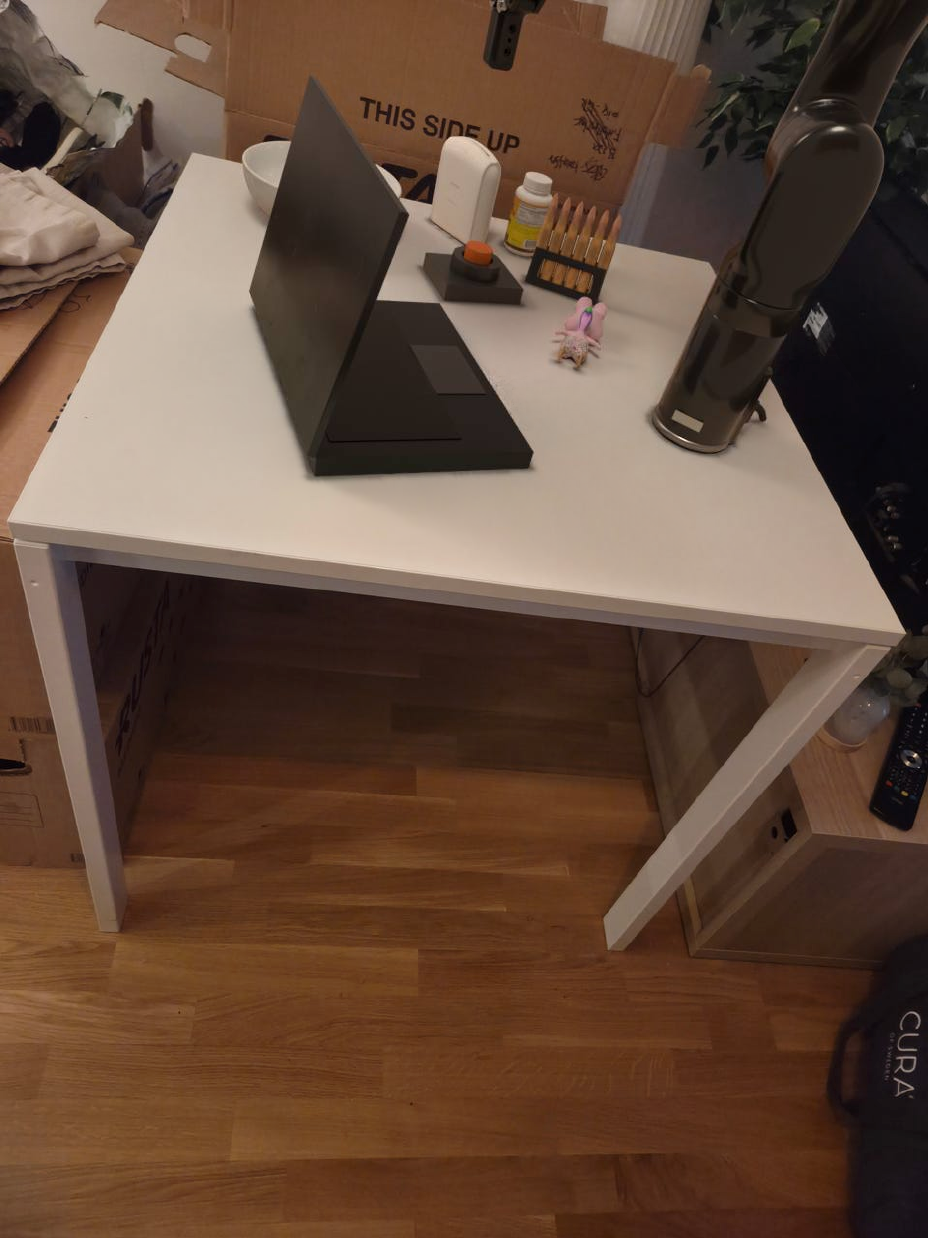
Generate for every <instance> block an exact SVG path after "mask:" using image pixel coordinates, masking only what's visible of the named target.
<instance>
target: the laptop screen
mask: <svg viewBox="0 0 928 1238" xmlns="http://www.w3.org/2000/svg"><path fill="white" fill-rule="evenodd" d="M290 141H291V144H290V147H289V151H288V154H287V158H286V161H285V165H284V168H283V172H282V176H281V179H280V183H279V186H278V190H277V193H276V197H275V200H274V204H273V208H272V211H271V215H269V218H268V222H267V226H266V230H265V232H264V236H263V240H262V243H261V247H260V251H259V254H258V258H257V261H256V264H255V268H254V272H253V275H252V279H251V282H250V285H249V288H248V289H249V290H248V293H249V295H250V298H251V301H252V304H253V307H254V309H255V313H256V316H257V318H258V321H259V324H260V327H261V330H262V333H263V336H264V339H265V341H266V344H267V346H268V349H269V353H270V355H271V358H272V361H273V364H274V367H275V369H276V370H275V371H276V373H277V375H278V378H279V381H280V384H281V387H282V389H283V392H284V395H285V398H286V401H287V404H288V407H289V409H290V412H291V415H292V418H293V421H294V423H295V427H296V430H297V432H298V435H299V438H300V441H301V443H302V446H303V449H304V452H305V455H306V457H307V458H308V457H313V458H315V456H316V454H317V451H318V449H319V446H320V444H321V441H322V438H323V436H324V433H325V431H326V428H327V426H328V423H329V421H330V418H331V415H332V413H333V410H334V408H335V405H336V403H337V400H338V397H339V395H340V392H341V390H342V387H343V385H344V382H345V379H346V377H347V374H348V372H349V369H350V367H351V364H352V361H353V359H354V356H355V354H356V351H357V349H358V346H359V343H360V341H361V338H362V336H363V333H364V331H365V328H366V325H367V323H368V320H369V318H370V315H371V313H372V310H373V308H374V305H375V302H376V300H378V297H379V294H380V292H381V289H382V287H383V284H384V281H385V279H386V277H387V274H388V271H389V269H390V266H391V263H392V261H393V259H394V256H395V255H396V254H395V253H396V251H397V248H398V246H399V243H400V242H401V238H402V235H403V233H404V231H405V228H406V226H407V222H408V220H409V217H410V213H409V212H408V210H407V209H406V207H405V206H404V204H403V202H402V201H401V199H400V200H399V198H398V197H397V196H396V194H395V193H394V191H393V190H392V188H391V187H390V185H389V184H388V182H387V181H386V179H385V178H384V176H383V175H382V173H381V172H380V171H379V169H378V168H377V166H376V165H377V164H376V163H375V161H374V160H373V159H372V157H371V156H370V154H369V153H368V151H367V150H366V149H365V147H364V145H363V144H362V142H361V141H360V140H359V138H358V136H357V135H356V133H355V132H354V130H352V128H351V126H350V125H349V124H348V122H347V120H346V119H345V117H344V116H343V114H342V113H341V111H340V110H339V108H338V107H337V106H336V104H335V103H334V102H333V100H332V99H331V96H330V95H329V94H328V92H327V91H326V90H325V88H324V86H323V85H322V84H321V82H320V80H319V79H318V78H317V77H315V76H312V75H309V77H308V80H307V84H306V87H305V90H304V95H303V97H302V101H301V105H300V110H299V111H298V114H297V119H296V123H295V126H294V130H293V133H292V136H291V140H290ZM375 164H376V165H375Z"/></svg>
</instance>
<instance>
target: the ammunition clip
mask: <svg viewBox="0 0 928 1238" xmlns="http://www.w3.org/2000/svg"><path fill="white" fill-rule="evenodd" d="M552 197H553V199H552V200H551V203H550V205H549V208H548V211H547V214H546V216H545V220H544V222H543V224H542V226H541V229H540V233H539V236H538V240H537V243H536V247H535V250H534V254H533V256H531V259H530V260H531V261H530V264H529V266H528V269H527V272H526V276H525V278H524V283H525V284H529V285H531V286H534V287H537V288H541V289H543V290H546V291H549V292H553V293H556V294H557V295H561V296H565V297H567V298H570V299H573V300H576V301H578V300H579V299H580V298H582V297H588V298H590V299H591V301H592V306H593V307H594V306H595V305H596V304H597V303H599V298H600V295H601V292H602V288H603V285H604V282H605V279H606V276H607V273H608V270H609V268H610V265H611V263H612V259H613V256H614V254H615V251H616V245H617V242H618V237H619V234H620V231H621V228H622V222H623V217H622V216H623V215H622V214H621V213H620V214H619V215H617V217H616V218H615V220H614V222H613V224H612V226H611V228H610V231H609V234H607V235H608V236H607V238H606V240H605V242H604V238H605V235H606V231H607V228H608V224H609V219H610V218H609V217H610V211H609V209H606V210H605V212H603V214H602V216H601V218H600V220H599V222H598V225H597V227H596V230H595V232H594V235H593V237H592V239H591V236H592V232H593V228H594V226H595V225H594V224H595V220H596V214H597V206H596V205H593V206H592V208H590V210H589V212H588V214H587V216H586V218H585V221H584V224H583V227H582V229H581V232H580V234H579V230H580V227H581V222H582V218H583V213H584V201H580V203H578V205H577V207H576V209H575V211H574V214H573V216H572V219H571V222H570V224H569V227H568V229H567V225H568V220H569V217H570V213H571V207H572V206H571V205H572V198H571V196H569V197H567V199H566V200H565V202H564V204H563V205H562V208H561V211H560V213H559V216H558V219H557V222H556V224H555V220H556V214H557V210H558V207H559V193H558V192H556V193H555V194H554V195H553V196H552ZM554 224H555V226H554ZM603 243H604V244H603Z"/></svg>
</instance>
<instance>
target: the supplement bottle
mask: <svg viewBox="0 0 928 1238" xmlns="http://www.w3.org/2000/svg"><path fill="white" fill-rule="evenodd" d="M552 185H553V179H552V178H551V177H550V176H548V175H546V174H543V173H540V172H536V171H528V172H526V173H525V175H524V179H523V183H522V185H520V186H518V187H517V188H516V190H515V193H514V196H513V202H512V205H511V210H510V213H509V217H508V221H507V226H506V230H505V234H504V239H503V245H504V247H505V248H506V249H507V251H509V252H511V253H512V254H515V255H517V256H521V257H533V254H534V250H535V247H536V243H537V240H538V236H539V233H540V229H541V226H542V224H543V222H544V220H545V216H546V214H547V211H548V208H549V205H550V203H551V200H552V199H553V197H554V196H553V195H552V194H551V189H552Z"/></svg>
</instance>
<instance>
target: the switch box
mask: <svg viewBox="0 0 928 1238" xmlns="http://www.w3.org/2000/svg"><path fill="white" fill-rule="evenodd" d="M465 248H466V245H460V246H457V247H454V249H453V251H452V253H438V252H425V254H424V258H423V263H422V264H423V265H422V269H423V271H424V272H425V274H426V276H427V277H428V279H429V281H430V282H431V284H432V285H433V286H434V288H435V290H436V292H437V293H438V294H439V296H440V297H441V300H442V301H443V302H457V303H458V302H460V303H478V304H480V303H481V304H495V305H496V304H497V305H514V306H515V305H517V306H520V305H521V300H522V297H523V294H524V287H523V286H522V285H521V284H520V282H519V281H518V280H517V279H516V278H515V276H514V275H513V273H511V271H510V270H509V269H508V267H507V266H506V264H505V263H504V262H503V261H502V259H501V258H500V257H499V256H498V255H496V254H495V253H493V254H492V258H491V262H490V264H488V265H480V264H476V263H473V262H470V261H468V260H467V259H465V258H464V253H465Z"/></svg>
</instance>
